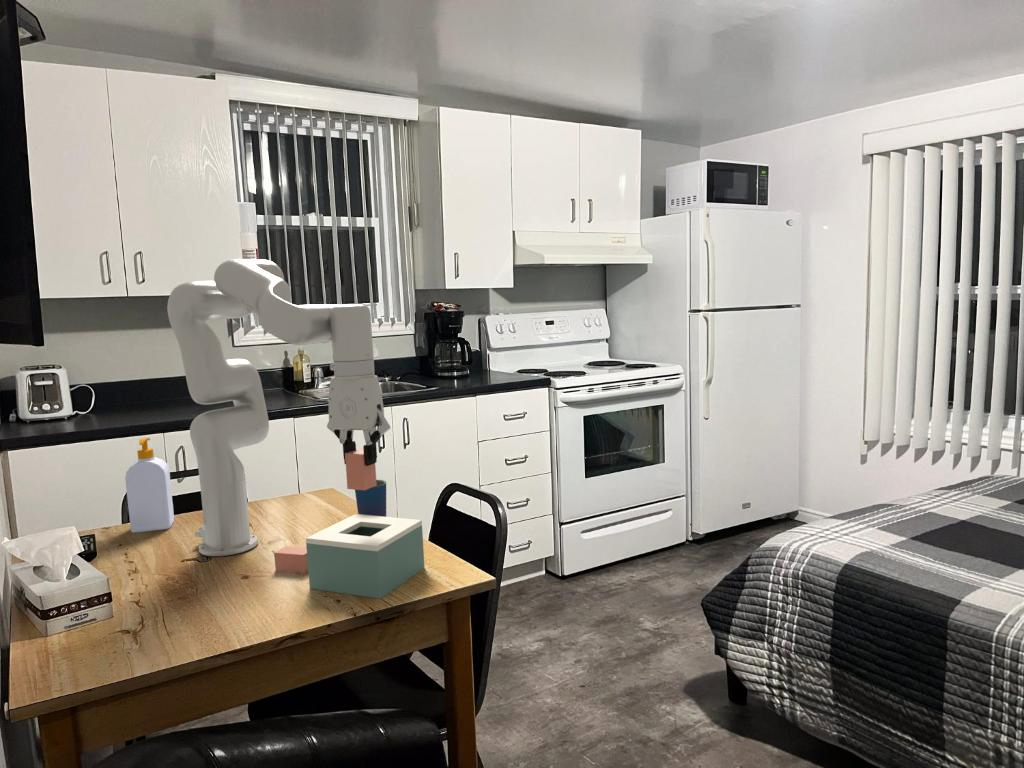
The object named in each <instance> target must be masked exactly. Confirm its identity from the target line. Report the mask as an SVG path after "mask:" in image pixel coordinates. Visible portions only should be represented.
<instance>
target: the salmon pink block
mask: <svg viewBox="0 0 1024 768" xmlns="http://www.w3.org/2000/svg"><path fill="white" fill-rule="evenodd" d="M345 461H346V464H345V472H346V476H345V477H346V486H347V487H346V489H347V490H354V491H355V490H367V489H369V488H371V487H374V486H376V485H377V483H376V480H377V471H376V470H377V469H376V463H374V464H372V465H369V466H366V465H365V459H364V450H363V448H361V449H360V448H356V450H354V451H351V452H348V453H345Z"/></svg>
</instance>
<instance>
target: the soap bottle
mask: <svg viewBox="0 0 1024 768" xmlns="http://www.w3.org/2000/svg"><path fill="white" fill-rule="evenodd" d="M148 441H151V438H150V437H144V438H141V437H140V438H139V440H138V442H139V443H138V445H139V446H141V449H138V450H137V460H136V461H134V463H133V464H132V465H130V467H129V468H128V469H127V471H126V472H125V477H124V479H125V480H124V481H125V487H126V499H127V504H128V505H127V506H128V516H129V524H130V525H129V527H130V531H131V533H133V534H136V533H143V532H145V533H146V532H155V531H161V530H169V529H170V528H171V527H172V525H173V524H174V521H175V515H174V512H175V511H174V503H173V496H172V495H173V493H172V482H171V473H170V468H169V465H168V463H167V462H166V461H164V459H162V458H160V457H155V456H154V448H152V447H151V448H149V445H148Z"/></svg>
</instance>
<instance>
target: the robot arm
mask: <svg viewBox="0 0 1024 768" xmlns="http://www.w3.org/2000/svg"><path fill="white" fill-rule="evenodd" d="M284 276H285V275H284V272H283V270H282V269H281V268H280V267H279V265H278V264H277V263H275V262H273V261H271V260H268V259H254V258H253V259H249V258H235V259H233V258H232V259H228V260H226V261H223V262H222V263H220V264H219V265H218V266H217V267H216V269H215V271H214V275H213V280H196V281H195V280H194V281H187V282H183V283H181V284H178V285H177V286H175V287H174V288H173V289H172V291H171V292H170V295H169V297H168V300H167V306H166V307H167V308H166V309H167V315H168V321H169V324H170V326H171V329H172V331H173V333H174V335H175V337H176V340H177V343H178V345H179V349H180V355H181V360H182V365H183V370H184V374H185V379H186V384H187V389H188V392H189V394H190V398H191V399H192V401H194V402H195V403H196V404H198V405H215V404H220V403H221V404H222V403H226V402H232V403H233V406H231V407H224V408H218V409H212V410H208V411H205V412H203V413H201V414H199V415H197V416H195V417H194V419H193V420H192V422H191V424H190V426H189V435H190V441H191V444H192V446H193V450H194V454H195V457H196V462H197V468H198V477H199V478H198V479H199V485H200V495H201V506H202V517H203V525H201V526H199V527H198V530H196V531H195V532H194V536H195V537H196V538H202V543H201V544H199V546H198V552H199V554H201V555H203V556H208V557H224V556H231V555H232V556H233V555H235V554H240V553H244V552H246V551H249V550H252V549H253V548H255V547H256V546H257V545H258V544H259V538H258V536H257V535H254V534H251V530H250V518H249V516H250V515H249V507H248V495H247V484H246V483H247V482H246V473H245V467H244V464H243V463H242V460H240V459H239V458H238V456H237V454H235V452H234V451H235V450H237V449H240V448H245V447H249V446H253V445H257V444H259V443H261V442H263V441H264V440H265V439H266V438H267V436H268V434H269V430H270V423H269V416H268V415H269V414H268V411H267V406H266V401H265V396H264V389H263V385H262V380H261V376H260V374H259V372H258V370H257V368H256V366H255V365H254V364H253V363H252V362H250V360H247V359H244V358H231V359H230V358H229V359H226V358H225V356H224V352H223V347H222V342H221V339H220V338H219V336H218V334H217V332H215V331H214V329H213V328H212V327H211V325H209V324H208V323H206V321H209V320H228V319H229V320H230V319H231V320H232V319H233V320H234V319H242V318H246V317H247V316H250V315H251V314H254V313H256V315H257V318H258V321H259V322H260V325H261V327H262V328H263V329H264V330H265V331H266V332H267V333H269V334H270V335H272V336H274V338H276V339H279V340H281V341H283V342H285V343H287V344H290V345H295V346H308V345H316V344H329V343H331V345H332V346H331V347H332V361H333V363H330V365H329V370H330V371H333V372H334V373H333V374H334V376H333V377H330V382H329V389H328V422H327V424H326V427H327V429H328V430H329V431H331V432H332V434H333V433H334V435H335V436H336V438H338V440H339V444H341V445H342V451H343V452H342V453H343V462H344V465H346V461H345V453H348V452H351V451H354V450H356V449H357V443H356V441H355V440H353V439H354V431H362V432H363V438H364V442H365V444H364V445H363V448H362V449H363V450H364V459H365V465H366V466H369V465H372V464H374V463H375V464H376V463H377V462H378V461H377V458H378V454H377V453H378V452H377V451H378V449H377V443H379V441H380V439H381V437H383V435H385V434H386V433H387V432H389V431H390V430H391V425H390V424H389V422H388V420H387V419H386V417H385V410H384V401H383V395H382V389H381V385H380V381H379V378H378V375H375V361H374V360H375V359H374V345H373V344H374V343H373V330H372V316H371V315H372V313H371V310H370V308H369V306H368V305H366V304H361V303H357V304H356V303H355V304H335V303H334V304H332V303H331V304H330V303H329V304H327V303H326V304H324V303H323V304H299V305H297V304H293V303H291V302H290V301H291V297H292V295H291V294H292V293H291V291H292V290H291V288H290V286H289V284H288V282H287V281H285V277H284ZM377 427H378V428H377Z"/></svg>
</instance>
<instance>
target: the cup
mask: <svg viewBox="0 0 1024 768" xmlns="http://www.w3.org/2000/svg"><path fill="white" fill-rule="evenodd" d="M376 483H377V485H376V486H374V487H371V488H369V489H367V490H354V493H355V501H356V509H357V514H362V515H373V516H383V517H387V481H385V480H383V479H376Z"/></svg>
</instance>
